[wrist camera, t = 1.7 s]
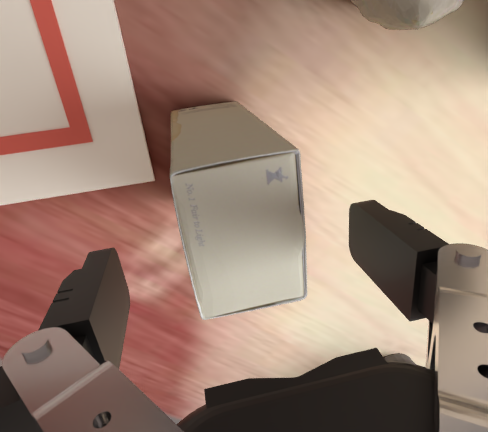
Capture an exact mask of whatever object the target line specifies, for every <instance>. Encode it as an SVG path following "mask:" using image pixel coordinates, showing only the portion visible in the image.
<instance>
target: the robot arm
mask: <svg viewBox="0 0 488 432" xmlns="http://www.w3.org/2000/svg"><path fill="white" fill-rule="evenodd" d="M349 248H350V252H351V255H352V257H353V259H354V261H355V262H356V263H357V264H358V265H359V266H360V267H361V268H362V269H363V271H364V272H365V273H366V274H367V275H368V276H369V277H370V278H371V279H372V280H373V282H374V283H375V284H376V285H377V286H378V287H379V288H380V289H381V290H382V291H383V293H384V294H385V295H386V296H387V297H388V298H389V299H390V300H391V301H392V302H393V303H394V305H395V306H396V307H397V308H398V309H399V310H400V311H401V312H402V313H403V314H404V316H405V317H406V318H407V319H408V320H409V321H414V320H418V319H423V318H427V319H428V320H429V325H428V335H427V354H426V367H422V366H419V365H415V364H411V363H405V362H397V361H386V360H385V359H384V358H383V356H382V355H381V353H380V352H379V350H378V349H377V348H374V349H370V350H366V351H361V352H357V353H353V354H349V355H345V356H341V357H336V358H334V359H332V360H331V361H329V362H327V363H325V364H323V365H321V366H319V367H317V368H315V369H313V370H311V371H309V372H307V373H305V374H303V375H301V376H299V377H295V378H254V379H245V380H241V381H237V382H232V383H228V384H224V385H220V386H216V387H212V388H207V389H204V390H205V400H206V405H204V406H202V407H200V408H198V409H197V410H195V411H194V412H192V413H190V414H189V415H188V416H186V417H185V418H184V419H183V420H181V421H180V422H179V423H178V424H177V425H176V424H175V423H174V422H173V421H172V420H171V419H170V418H169V417H168V416H167V415H166V414H165V413H164V412H163V411H162V410H161V409H160V408H159V407H158V406H156V405H155V404H154V403H153V402H152V401H151V400H150V399H149V398H148V397H147V396H146V395H145V394H144V393H143V392H142V391H141V390H140V389H139V388H138V387H137V386H135V385H134V384H133V383H132V382H131V381H130V380H129V379H128V378H127V377H126V376H125V375H124V374H123V373H122V372H121V371H120V370H119V366H120V361H121V355H122V349H123V343H124V337H125V332H126V326H127V320H128V314H129V308H130V296H129V290H128V286H127V283H126V280H125V276H124V273H123V270H122V267H121V263H120V260H119V257H118V254H117V251H116V250H115V248H109V249H103V250H98V251H93V252H89V254H88V256H87V258H86V260H85V263H84V265H83V267H82V269H78V270H74V271H73V272H72V273H71V274H70V275H69V276H68V277H67V278H65V279H64V280H63V282H62V284H61V286H60V288H59V290H58V294H56V296H55V298H54V300H53V303H52V304H51V306H50V308H49V310H48V312H47V314H46V316H45V318H44V320H43V322H42V324H41V326H40V328H39V330H38V331H36V332H34V333H31V334H29V335H27V336H26V337H24V338H22V339H21V340H19V341H18V342H17V343H15V344H14V345H13V346H12V347H11V348H10V349H9V350H8V352H7V353H6V354H5V356H4V358H3V361H2V366H1V367H0V432H488V250H487V249H485V248H482V247H479V246H475V245H471V244H448V243H446V242H445V241H443V240H442V239H440V238H439V237H437V236H436V235H434V234H433V233H431V232H430V231H428V230H427V229H424V227H422V226H421V225H419V224H418V223H415V221H413V220H412V219H410V218H409V217H407V216H406V215H403V214H400V213H397V212H394V211H391V210H388V209H387V208H385V207H384V206H382V205H381V204H380V203H378V202H377V201H375V200H369V201H364V202H358V203H353V204H351V206H350V209H349Z"/></svg>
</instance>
